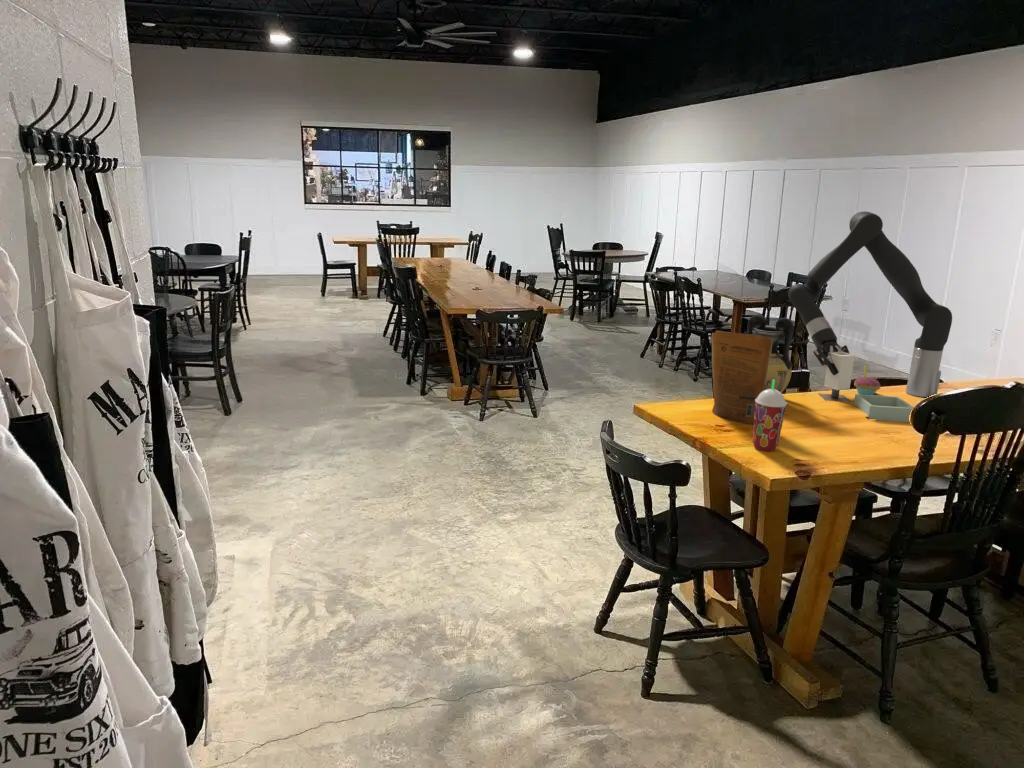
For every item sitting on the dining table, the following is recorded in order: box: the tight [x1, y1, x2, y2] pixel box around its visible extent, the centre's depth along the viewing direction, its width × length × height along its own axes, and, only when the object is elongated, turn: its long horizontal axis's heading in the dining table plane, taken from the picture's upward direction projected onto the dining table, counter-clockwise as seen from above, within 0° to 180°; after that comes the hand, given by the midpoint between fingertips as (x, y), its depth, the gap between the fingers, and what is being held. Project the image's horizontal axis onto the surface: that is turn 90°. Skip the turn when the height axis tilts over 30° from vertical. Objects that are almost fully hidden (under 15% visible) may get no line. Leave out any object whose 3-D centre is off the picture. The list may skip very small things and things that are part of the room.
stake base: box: [817, 388, 853, 403], centre depth 254 cm, size 9×9×9 cm
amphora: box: [746, 314, 795, 394], centre depth 247 cm, size 18×17×30 cm
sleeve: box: [823, 352, 856, 391], centre depth 252 cm, size 6×6×12 cm
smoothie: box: [752, 379, 788, 452], centre depth 203 cm, size 8×8×20 cm
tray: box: [853, 393, 915, 423], centre depth 241 cm, size 14×14×4 cm
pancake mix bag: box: [710, 330, 773, 425], centre depth 227 cm, size 7×19×28 cm, turn 46°
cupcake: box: [853, 365, 881, 395], centre depth 261 cm, size 9×8×12 cm
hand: (843, 373), depth 251 cm, fingers closed on sleeve, 5 cm apart
